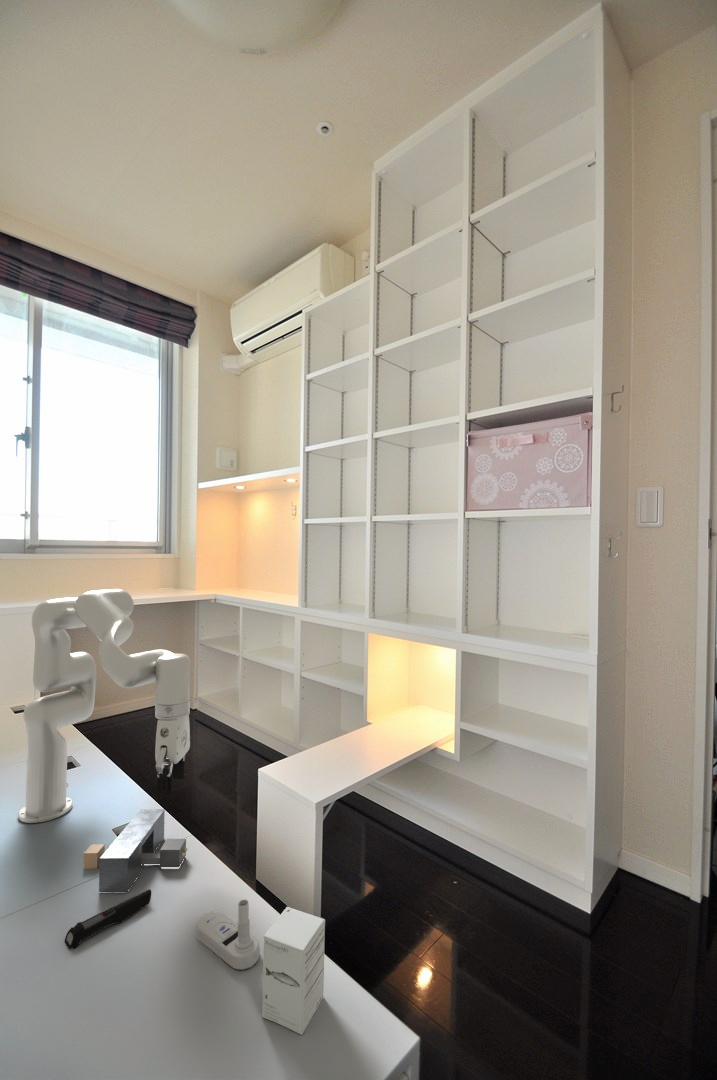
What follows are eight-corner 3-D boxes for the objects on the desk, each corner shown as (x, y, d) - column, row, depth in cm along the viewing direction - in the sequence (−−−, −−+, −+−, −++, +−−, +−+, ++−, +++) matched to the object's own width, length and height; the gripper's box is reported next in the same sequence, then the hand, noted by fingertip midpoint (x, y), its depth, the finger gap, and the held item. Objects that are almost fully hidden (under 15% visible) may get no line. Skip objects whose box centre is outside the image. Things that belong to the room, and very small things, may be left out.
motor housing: (98, 893, 104) (99, 858, 104) (140, 838, 124) (140, 809, 124) (127, 893, 104) (128, 858, 104) (164, 838, 124) (164, 809, 124)
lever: (82, 869, 111) (82, 849, 112) (92, 857, 116) (92, 838, 116) (182, 869, 112) (182, 849, 112) (188, 857, 116) (188, 838, 116)
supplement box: (260, 1019, 76) (261, 934, 76) (286, 981, 83) (287, 904, 83) (302, 1038, 73) (303, 950, 73) (325, 997, 80) (326, 917, 80)
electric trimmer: (154, 909, 100) (155, 892, 100) (70, 953, 88) (71, 934, 89) (146, 900, 102) (146, 884, 103) (63, 942, 91) (63, 924, 91)
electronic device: (215, 869, 97) (265, 901, 88) (215, 920, 97) (265, 958, 87) (191, 883, 93) (240, 918, 84) (191, 937, 93) (241, 978, 83)
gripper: (175, 720, 106) (173, 805, 106) (200, 697, 124) (199, 769, 123) (140, 720, 106) (138, 804, 106) (170, 697, 124) (169, 769, 123)
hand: (171, 785), depth 114 cm, fingers open, 7 cm apart
